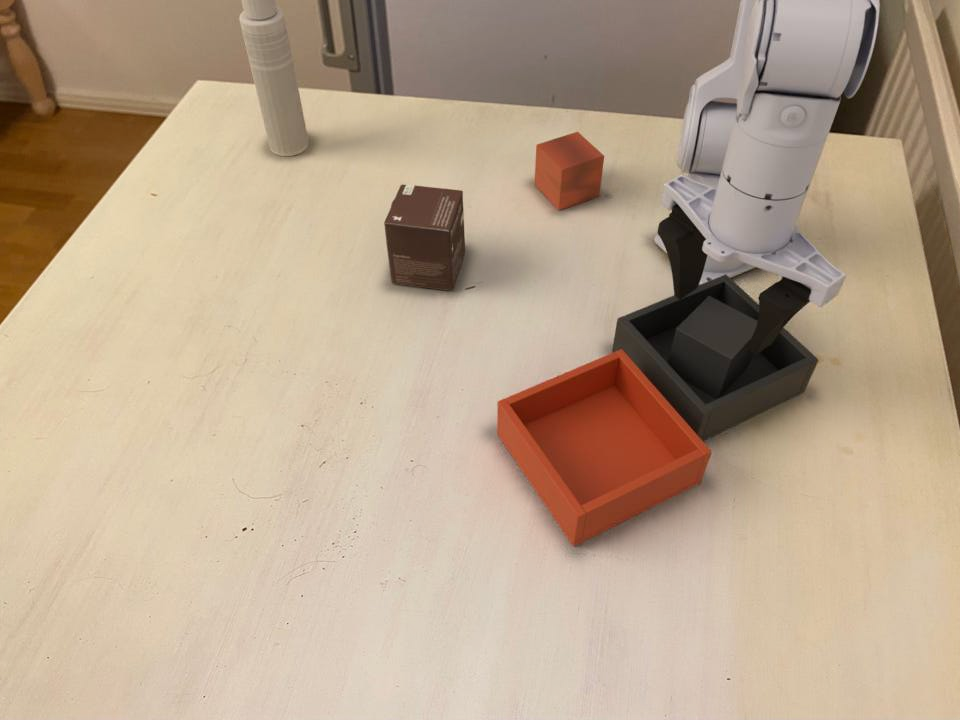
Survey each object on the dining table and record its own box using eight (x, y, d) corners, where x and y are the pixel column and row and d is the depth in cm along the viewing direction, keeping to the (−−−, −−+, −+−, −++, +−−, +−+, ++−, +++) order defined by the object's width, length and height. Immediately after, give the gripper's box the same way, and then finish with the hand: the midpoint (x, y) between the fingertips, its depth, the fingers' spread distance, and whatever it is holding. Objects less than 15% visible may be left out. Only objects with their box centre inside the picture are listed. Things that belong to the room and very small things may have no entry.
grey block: (697, 337, 71) (709, 295, 67) (748, 365, 68) (763, 324, 65) (665, 369, 68) (676, 328, 64) (718, 400, 66) (731, 359, 62)
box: (452, 293, 75) (449, 231, 70) (389, 285, 76) (382, 223, 71) (466, 251, 79) (464, 189, 74) (406, 243, 80) (400, 182, 75)
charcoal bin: (716, 307, 74) (726, 273, 71) (804, 392, 67) (819, 359, 64) (611, 351, 70) (617, 318, 67) (693, 446, 64) (703, 413, 61)
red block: (573, 171, 88) (577, 131, 84) (599, 196, 85) (604, 155, 81) (534, 184, 86) (536, 144, 83) (558, 210, 83) (562, 170, 80)
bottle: (312, 135, 93) (278, -46, 78) (303, 157, 90) (266, -27, 75) (275, 133, 93) (234, -48, 78) (265, 155, 90) (220, -28, 75)
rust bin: (615, 381, 68) (621, 348, 65) (701, 482, 61) (712, 451, 58) (496, 433, 65) (497, 401, 62) (573, 547, 58) (578, 517, 55)
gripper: (644, 147, 56) (620, 291, 66) (822, 255, 48) (764, 398, 58) (711, 112, 59) (679, 254, 69) (889, 208, 51) (823, 352, 61)
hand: (722, 318), depth 64 cm, fingers open, 7 cm apart
